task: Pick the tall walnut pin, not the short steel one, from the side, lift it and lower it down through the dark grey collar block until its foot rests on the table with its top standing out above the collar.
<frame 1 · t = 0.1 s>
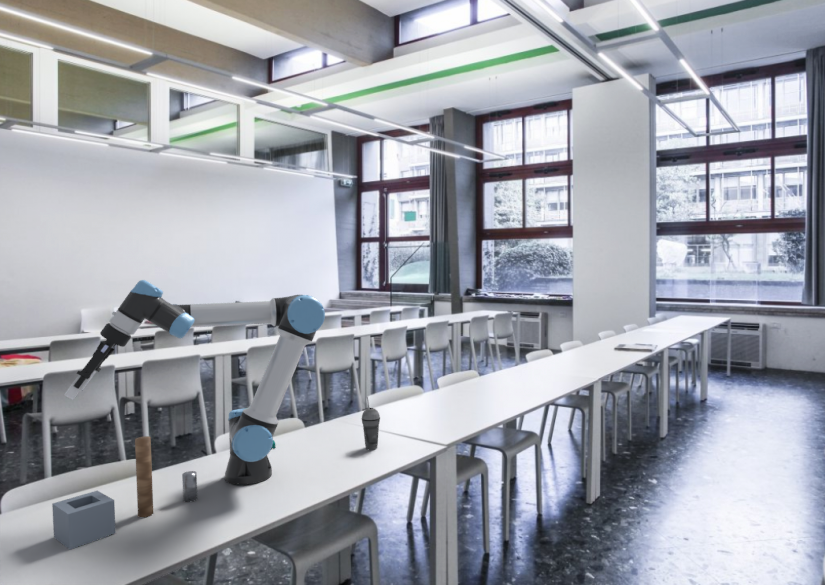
hand: (73, 392, 158), 36 cm above the table, tool tilted 35°, fingers open, 13 cm apart
collar block: (84, 535, 148), on the table
digital multimeter: (255, 450, 220), on the table
long walnut pin: (145, 514, 160), on the table
short steel pin: (190, 499, 171), on the table
beverage cup: (371, 448, 217), on the table
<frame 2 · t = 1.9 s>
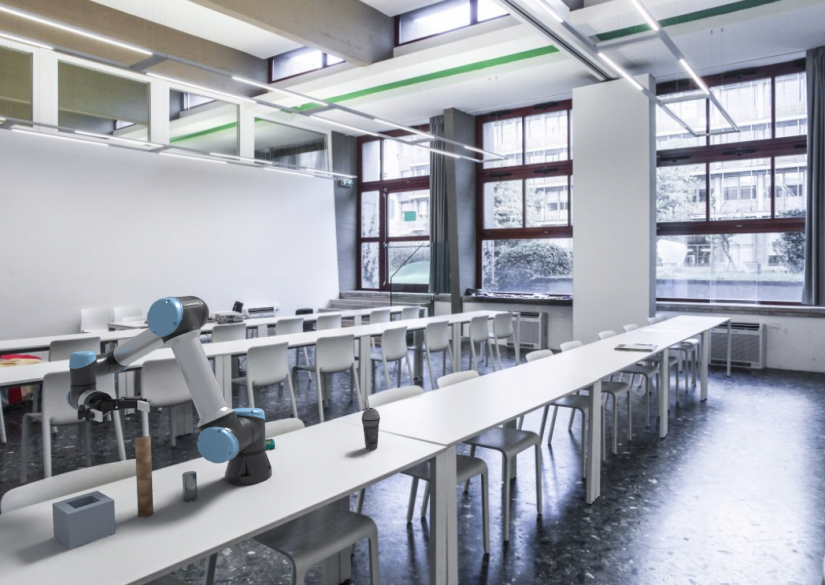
hand: (125, 412, 166), 28 cm above the table, tool horizontal, fingers open, 13 cm apart
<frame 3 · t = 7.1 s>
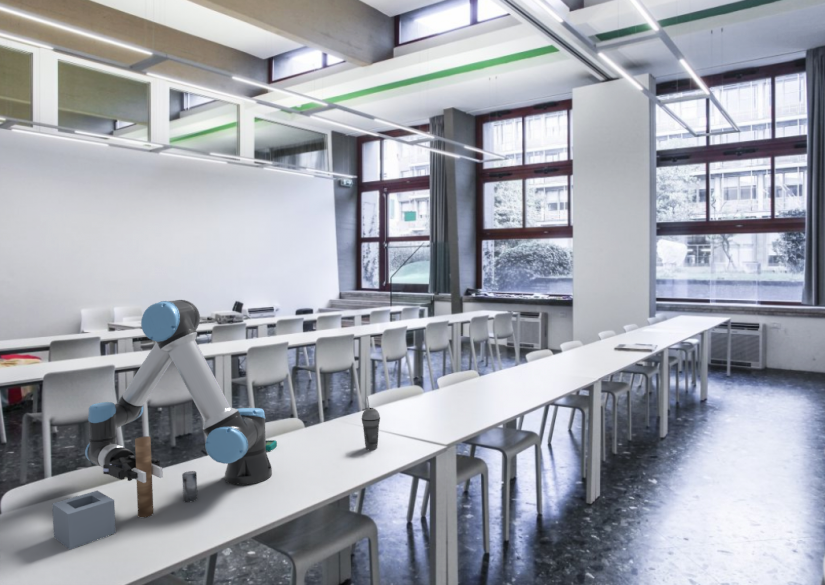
hand: (152, 475, 157), 13 cm above the table, tool horizontal, fingers closed on long walnut pin, 4 cm apart
long walnut pin: (145, 514, 160), on the table, touching gripper
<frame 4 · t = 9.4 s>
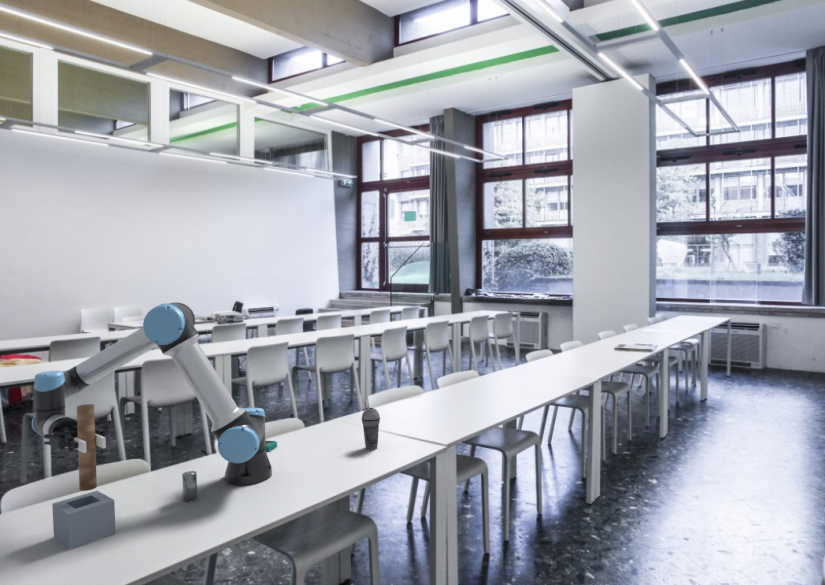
hand: (94, 445, 145), 24 cm above the table, tool horizontal, fingers closed on long walnut pin, 4 cm apart
long walnut pin: (88, 487, 149), point 12 cm above the table, touching gripper
when the fingers open (14 cm above the table, at t = 12.1 s): long walnut pin drops 2 cm, resting in collar block.
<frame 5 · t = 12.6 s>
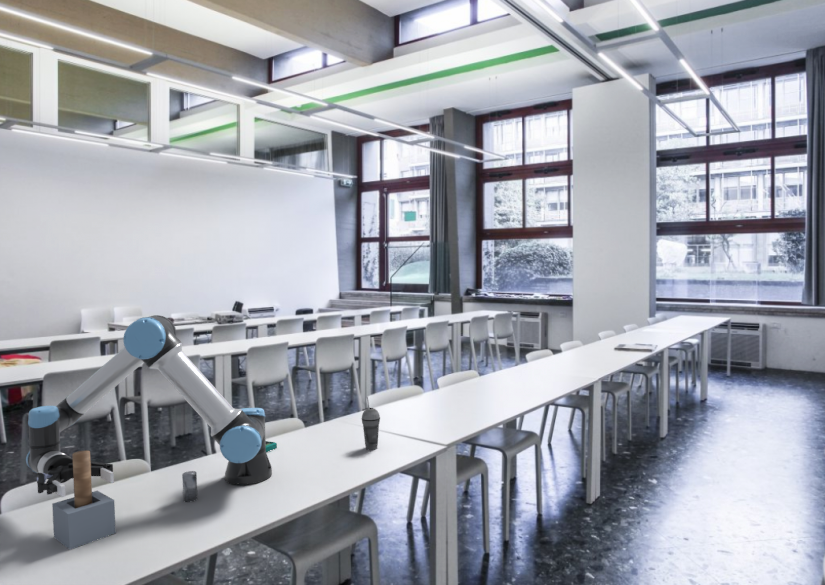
hand: (88, 484, 145), 14 cm above the table, tool horizontal, fingers open, 11 cm apart
long walnut pin: (84, 535, 148), resting in collar block
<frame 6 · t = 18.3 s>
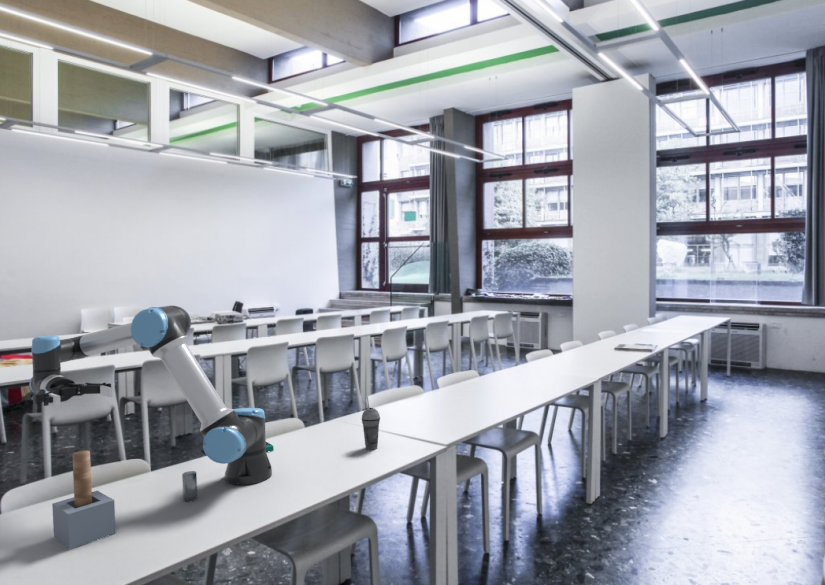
hand: (85, 396, 161), 34 cm above the table, tool horizontal, fingers open, 13 cm apart
at the end: long walnut pin 0.1 cm off-centre on the collar block, point 0.0 cm above the collar block's base; long walnut pin tilted 0°; short steel pin moved 0.0 cm from its start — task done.
